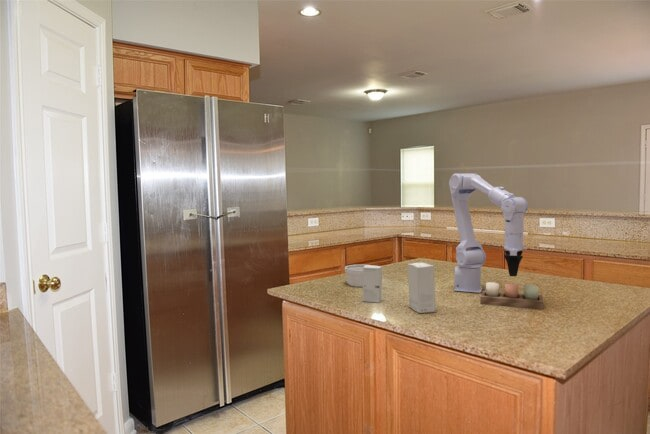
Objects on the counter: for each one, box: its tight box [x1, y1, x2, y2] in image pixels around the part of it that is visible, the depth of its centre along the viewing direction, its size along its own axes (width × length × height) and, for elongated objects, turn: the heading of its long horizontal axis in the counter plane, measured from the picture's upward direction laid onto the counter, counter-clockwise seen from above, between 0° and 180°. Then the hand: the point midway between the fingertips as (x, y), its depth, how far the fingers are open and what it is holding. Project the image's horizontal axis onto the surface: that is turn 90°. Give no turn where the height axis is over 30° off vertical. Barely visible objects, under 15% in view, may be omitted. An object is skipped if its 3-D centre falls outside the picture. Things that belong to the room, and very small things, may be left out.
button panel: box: [479, 290, 544, 310], centre depth 153 cm, size 19×9×2 cm, turn 67°
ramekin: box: [344, 264, 366, 288], centre depth 185 cm, size 13×13×7 cm
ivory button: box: [485, 281, 500, 297], centre depth 155 cm, size 4×4×4 cm
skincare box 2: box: [407, 261, 437, 314], centre depth 147 cm, size 8×6×15 cm
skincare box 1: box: [362, 264, 383, 303], centre depth 158 cm, size 6×4×12 cm
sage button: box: [523, 284, 539, 300], centre depth 151 cm, size 4×4×4 cm
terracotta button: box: [504, 282, 519, 298], centre depth 153 cm, size 4×4×4 cm
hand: (513, 273), depth 153 cm, fingers open, 7 cm apart
